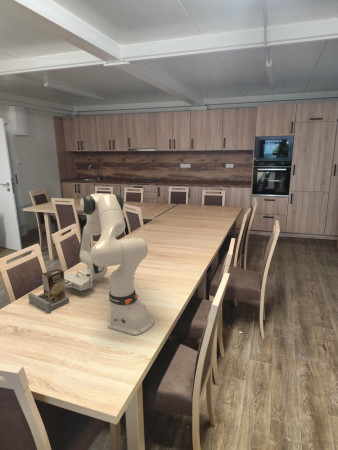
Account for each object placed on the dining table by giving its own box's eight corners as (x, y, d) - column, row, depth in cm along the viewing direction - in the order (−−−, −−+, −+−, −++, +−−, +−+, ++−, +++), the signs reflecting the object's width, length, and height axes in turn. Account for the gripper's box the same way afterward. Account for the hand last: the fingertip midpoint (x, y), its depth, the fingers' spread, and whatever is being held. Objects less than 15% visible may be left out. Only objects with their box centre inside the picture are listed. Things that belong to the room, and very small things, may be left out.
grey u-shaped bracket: (70, 302, 154) (69, 294, 153) (48, 313, 144) (47, 304, 143) (50, 293, 164) (49, 285, 163) (29, 302, 155) (28, 293, 153)
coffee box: (51, 305, 151) (48, 276, 147) (44, 301, 155) (40, 273, 151) (66, 298, 159) (63, 270, 154) (59, 295, 162) (56, 268, 158)
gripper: (71, 268, 175) (50, 276, 164) (93, 277, 163) (72, 286, 152) (72, 278, 176) (51, 286, 166) (94, 287, 165) (73, 297, 154)
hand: (61, 286), depth 159 cm, fingers closed, pressing on coffee box
